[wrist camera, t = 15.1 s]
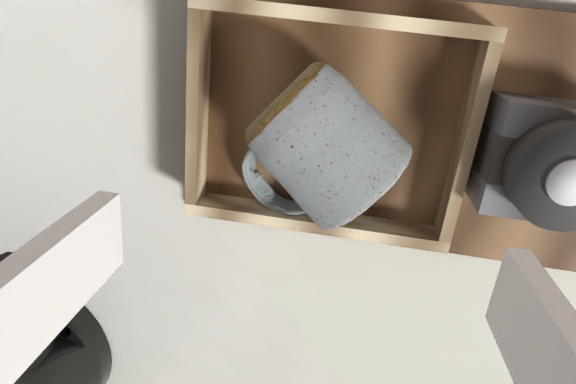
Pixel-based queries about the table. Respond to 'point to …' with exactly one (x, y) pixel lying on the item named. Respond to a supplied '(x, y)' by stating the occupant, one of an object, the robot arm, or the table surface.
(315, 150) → the ceramic mug
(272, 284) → the table surface
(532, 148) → the wheel
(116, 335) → the table surface
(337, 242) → the table surface
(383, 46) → the board
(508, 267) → the robot arm
